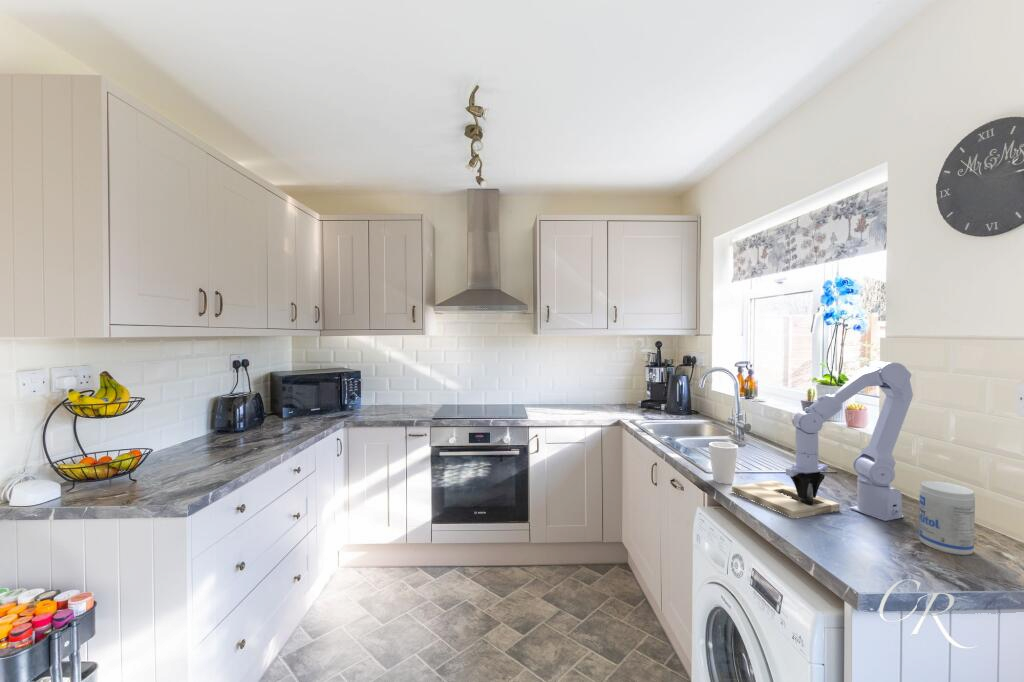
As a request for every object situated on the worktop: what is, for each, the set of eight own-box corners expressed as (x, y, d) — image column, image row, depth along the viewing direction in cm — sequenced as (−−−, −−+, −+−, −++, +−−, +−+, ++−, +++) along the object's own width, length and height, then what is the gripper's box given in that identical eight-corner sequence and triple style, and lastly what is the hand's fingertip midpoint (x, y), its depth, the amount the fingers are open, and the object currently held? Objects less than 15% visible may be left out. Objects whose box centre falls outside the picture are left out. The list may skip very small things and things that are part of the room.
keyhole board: (839, 510, 128) (839, 503, 128) (793, 518, 123) (793, 511, 123) (773, 486, 149) (773, 480, 149) (732, 492, 144) (732, 486, 144)
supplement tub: (908, 538, 110) (908, 480, 110) (942, 536, 111) (942, 479, 111) (950, 557, 101) (950, 494, 101) (986, 555, 102) (987, 492, 102)
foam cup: (735, 487, 149) (735, 449, 148) (706, 482, 154) (706, 445, 154) (740, 480, 156) (740, 444, 156) (712, 475, 162) (712, 440, 162)
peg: (821, 508, 130) (821, 483, 130) (809, 511, 128) (809, 485, 128) (804, 502, 135) (804, 478, 135) (792, 504, 133) (792, 480, 133)
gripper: (811, 447, 137) (811, 490, 137) (776, 451, 133) (776, 495, 133) (834, 452, 130) (834, 497, 130) (798, 457, 126) (798, 503, 126)
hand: (806, 497), depth 131 cm, fingers closed on peg, 3 cm apart
